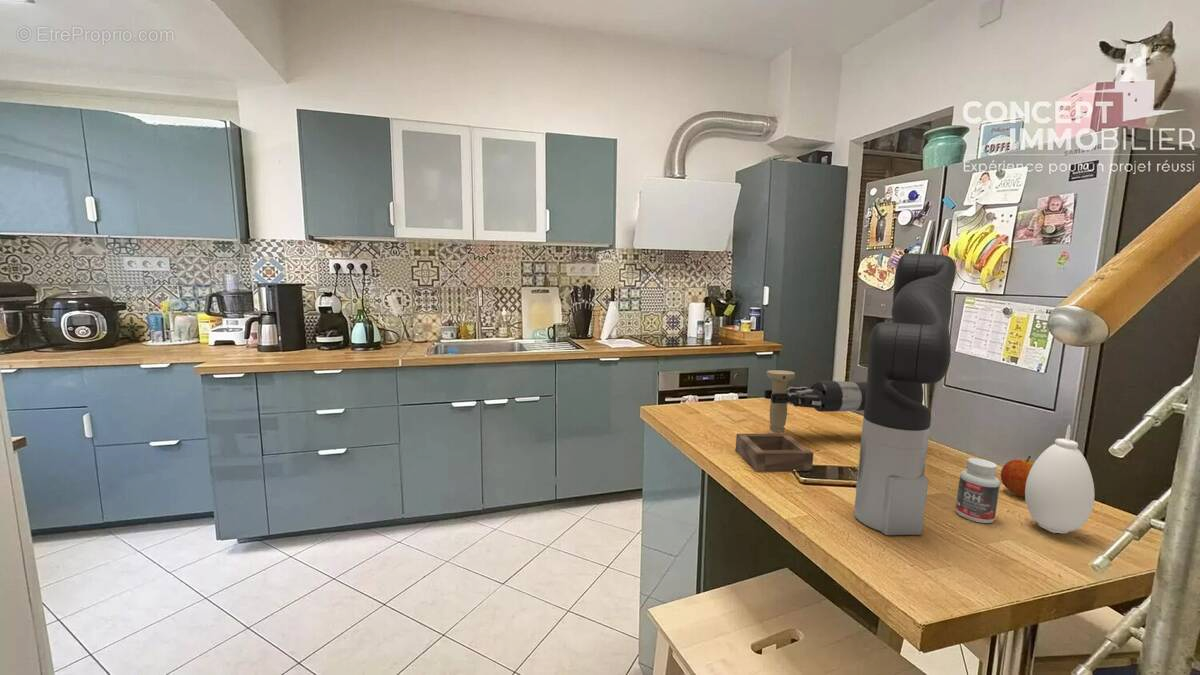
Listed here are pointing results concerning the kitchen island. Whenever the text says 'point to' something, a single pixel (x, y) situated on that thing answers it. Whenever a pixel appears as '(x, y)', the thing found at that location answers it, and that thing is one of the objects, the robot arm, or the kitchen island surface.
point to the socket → (773, 452)
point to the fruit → (1016, 475)
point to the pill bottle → (978, 491)
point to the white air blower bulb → (1060, 487)
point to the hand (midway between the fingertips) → (768, 396)
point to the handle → (779, 409)
